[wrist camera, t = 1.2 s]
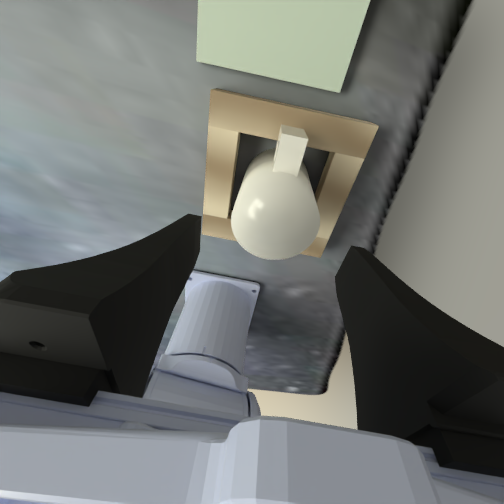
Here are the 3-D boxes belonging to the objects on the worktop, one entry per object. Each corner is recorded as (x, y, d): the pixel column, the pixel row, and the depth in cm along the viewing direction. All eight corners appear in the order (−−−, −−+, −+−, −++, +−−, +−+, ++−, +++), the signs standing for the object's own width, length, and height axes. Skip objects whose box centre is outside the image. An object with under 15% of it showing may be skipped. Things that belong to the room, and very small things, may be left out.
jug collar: (318, 247, 23) (320, 257, 21) (206, 224, 22) (201, 234, 21) (371, 122, 16) (379, 126, 15) (216, 88, 16) (210, 89, 15)
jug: (297, 214, 21) (304, 266, 15) (240, 203, 21) (226, 251, 15) (326, 127, 17) (349, 154, 11) (255, 112, 17) (243, 131, 11)
